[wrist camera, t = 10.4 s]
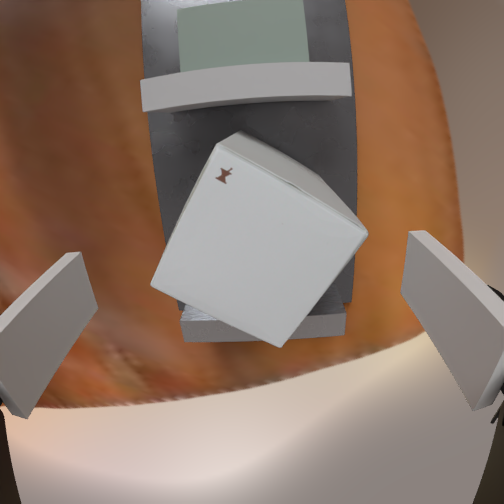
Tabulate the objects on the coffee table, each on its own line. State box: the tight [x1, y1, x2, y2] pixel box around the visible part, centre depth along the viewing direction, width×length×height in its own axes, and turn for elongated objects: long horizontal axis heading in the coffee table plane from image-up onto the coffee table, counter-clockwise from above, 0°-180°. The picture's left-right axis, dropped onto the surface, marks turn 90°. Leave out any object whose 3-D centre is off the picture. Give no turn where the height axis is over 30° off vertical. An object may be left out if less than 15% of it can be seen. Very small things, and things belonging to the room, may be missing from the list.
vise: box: [141, 0, 357, 342], centre depth 21 cm, size 16×28×7 cm, turn 4°
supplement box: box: [151, 130, 368, 348], centre depth 19 cm, size 7×7×13 cm
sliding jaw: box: [140, 0, 352, 113], centre depth 18 cm, size 12×7×6 cm, turn 94°
